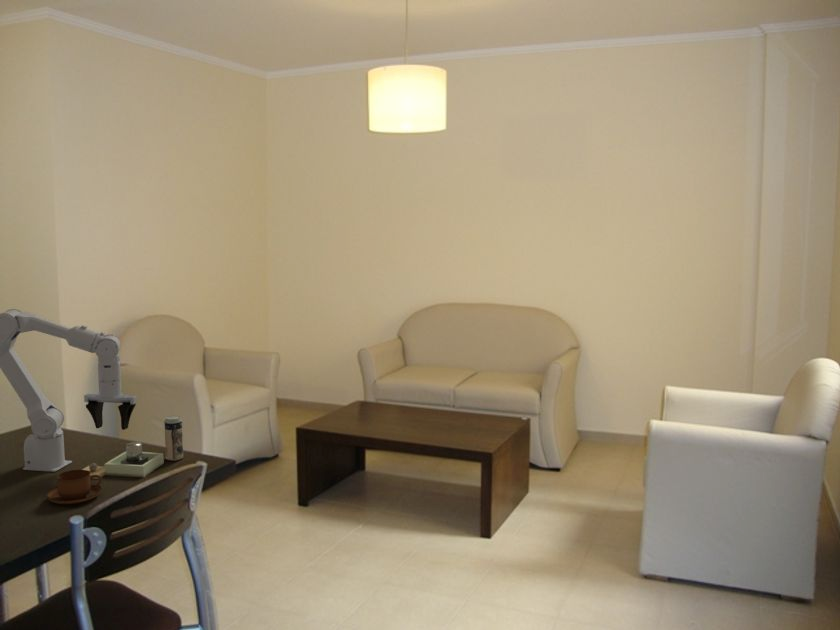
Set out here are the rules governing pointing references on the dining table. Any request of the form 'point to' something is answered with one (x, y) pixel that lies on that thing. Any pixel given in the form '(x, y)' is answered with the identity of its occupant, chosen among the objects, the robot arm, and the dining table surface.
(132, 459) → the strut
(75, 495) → the cup and saucer
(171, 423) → the lidded jar
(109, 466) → the tray
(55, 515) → the dining table surface
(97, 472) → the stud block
